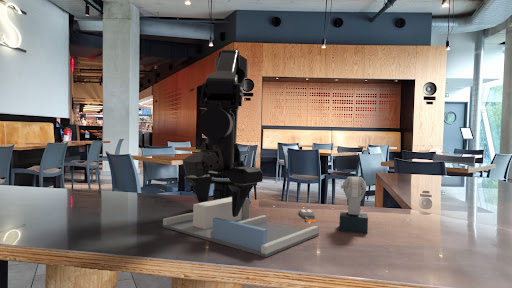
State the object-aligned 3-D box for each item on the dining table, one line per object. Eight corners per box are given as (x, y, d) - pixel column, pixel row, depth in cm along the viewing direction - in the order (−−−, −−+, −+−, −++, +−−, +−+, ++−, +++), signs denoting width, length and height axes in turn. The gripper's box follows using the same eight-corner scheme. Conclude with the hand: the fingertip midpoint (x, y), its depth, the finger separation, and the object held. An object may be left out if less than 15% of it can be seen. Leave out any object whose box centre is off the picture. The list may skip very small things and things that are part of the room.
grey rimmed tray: (221, 213, 89) (221, 196, 89) (318, 235, 73) (319, 214, 73) (162, 226, 76) (163, 207, 76) (265, 257, 60) (266, 232, 59)
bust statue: (366, 225, 81) (368, 175, 81) (367, 235, 73) (370, 179, 73) (339, 223, 83) (341, 173, 82) (338, 233, 75) (340, 178, 74)
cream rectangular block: (235, 215, 86) (235, 195, 86) (248, 218, 83) (249, 198, 83) (192, 225, 76) (192, 203, 75) (205, 229, 73) (206, 206, 73)
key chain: (296, 214, 92) (296, 208, 92) (311, 215, 93) (311, 209, 92) (306, 229, 79) (306, 222, 79) (323, 229, 80) (324, 222, 80)
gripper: (160, 136, 77) (158, 211, 78) (226, 140, 66) (224, 228, 66) (200, 136, 86) (198, 204, 87) (265, 139, 74) (263, 218, 75)
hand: (218, 212), depth 79 cm, fingers open, 9 cm apart
